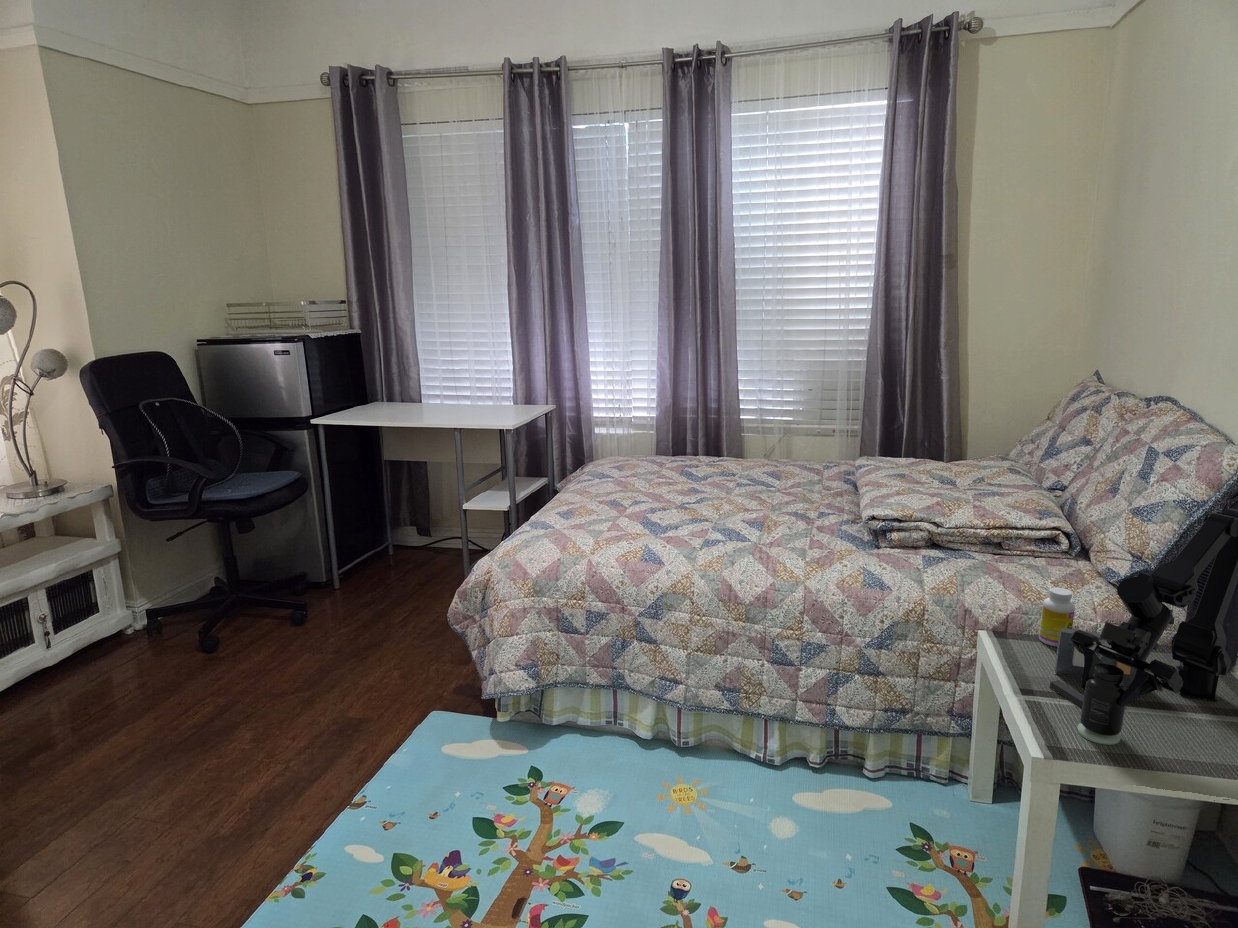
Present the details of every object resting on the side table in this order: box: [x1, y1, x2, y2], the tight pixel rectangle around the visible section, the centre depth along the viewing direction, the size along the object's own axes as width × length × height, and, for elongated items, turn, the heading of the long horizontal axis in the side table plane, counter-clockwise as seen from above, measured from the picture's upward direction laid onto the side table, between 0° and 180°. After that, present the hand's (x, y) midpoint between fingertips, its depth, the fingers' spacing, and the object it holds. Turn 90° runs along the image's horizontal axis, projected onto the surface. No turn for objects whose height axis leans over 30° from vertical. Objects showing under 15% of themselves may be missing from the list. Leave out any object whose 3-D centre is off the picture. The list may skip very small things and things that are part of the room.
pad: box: [1077, 722, 1122, 746], centre depth 153 cm, size 7×7×1 cm
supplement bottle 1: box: [1038, 587, 1076, 648], centre depth 190 cm, size 7×7×13 cm
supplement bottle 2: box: [1080, 664, 1128, 736], centre depth 151 cm, size 7×7×12 cm
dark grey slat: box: [1049, 679, 1084, 709], centre depth 164 cm, size 14×2×2 cm, turn 15°
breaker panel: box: [1054, 627, 1137, 688], centre depth 172 cm, size 16×3×10 cm, turn 66°
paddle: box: [1072, 647, 1084, 667], centre depth 172 cm, size 2×1×4 cm, turn 67°
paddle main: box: [1116, 656, 1131, 675], centre depth 169 cm, size 2×1×4 cm, turn 66°
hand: (1100, 696), depth 150 cm, fingers closed on supplement bottle 2, 7 cm apart
